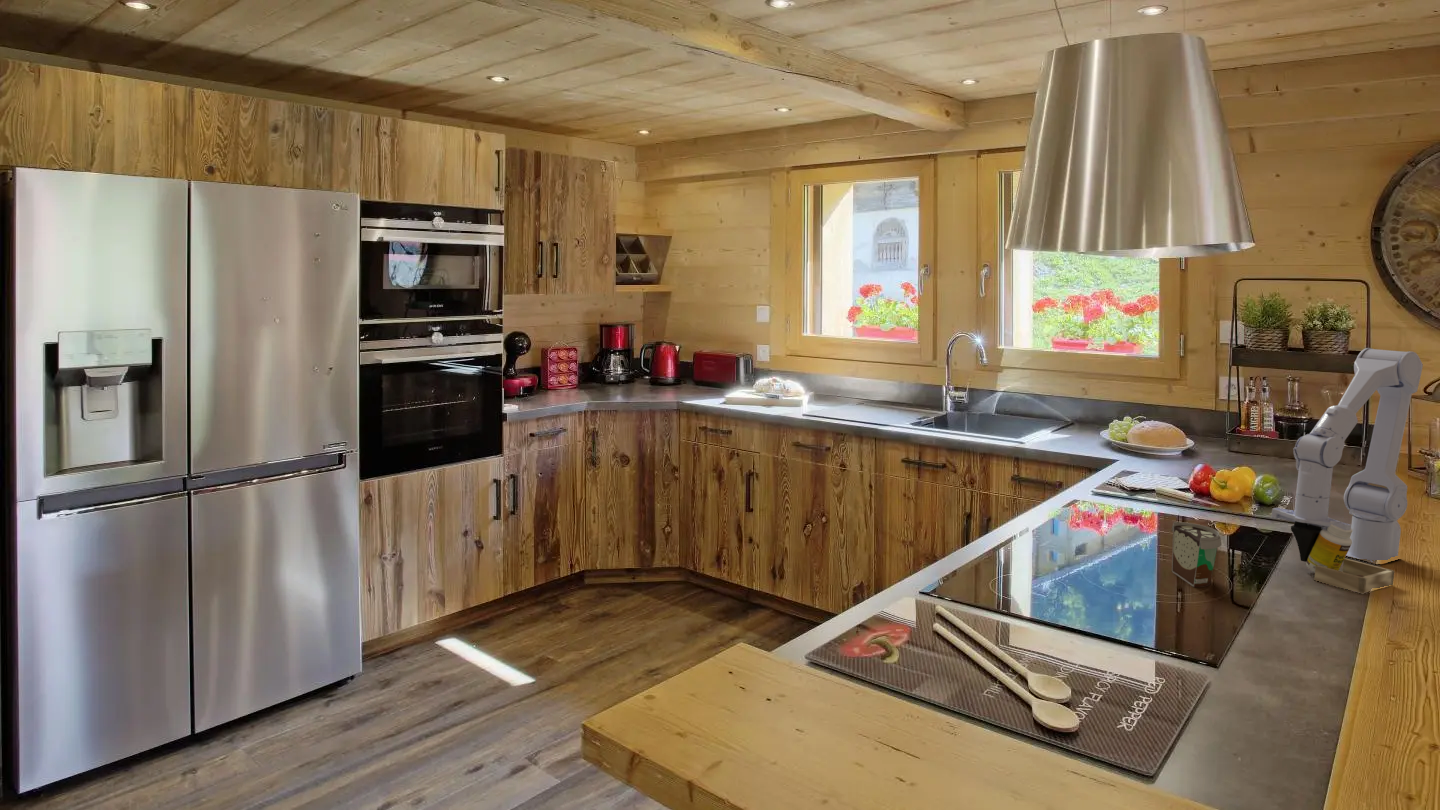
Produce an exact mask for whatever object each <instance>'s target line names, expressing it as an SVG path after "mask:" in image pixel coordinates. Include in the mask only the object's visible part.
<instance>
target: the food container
mask: <svg viewBox="0 0 1440 810" xmlns="http://www.w3.org/2000/svg"><path fill="white" fill-rule="evenodd" d="M1171 532H1172V551H1171V552H1172V554H1171V572H1172V573H1173V574H1174V575H1176V576H1177V577H1179V578H1180V579H1181V580H1183V581H1184V582H1186V583H1187V584H1188V585H1190V586H1191V587H1192V588H1204V587H1208V586H1210V585H1211V583H1212V578H1213V572H1214V567H1215V561H1216V555H1217V552H1218V551H1217V550H1218V548H1220V547H1221V546H1222V539H1221V535H1220V532H1219V531H1218V530H1216V529H1214V528H1213V527H1209V526H1204V525H1201V524H1196V523H1192V522H1190V523H1189V522H1185V521H1184V522H1182V521H1181V522H1180V521H1174V522H1172V527H1171Z"/></svg>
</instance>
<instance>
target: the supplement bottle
mask: <svg viewBox="0 0 1440 810" xmlns="http://www.w3.org/2000/svg"><path fill="white" fill-rule="evenodd" d="M1334 522H1335V521H1334ZM1330 523H1331V522H1330ZM1338 523H1339V522H1338ZM1351 533H1352V529H1350V530H1343V529H1341V528H1339V527H1337V526H1335V525H1332V524H1331V525H1330V527H1329V526H1328V527H1327V530H1326V529H1322V530H1321V531H1320V533H1319V535H1318V538H1317V540H1316V542H1315V544H1314V546H1313V548H1312V551H1311V553H1310V555H1309V557H1308V559H1307V561H1306V562H1305V565H1306V567H1307V568H1308V569H1310V571H1312V572H1313V573H1315V568H1316V566H1317V565H1319V566H1323V567H1326V568H1330V569H1334V570H1337V571H1340V569H1341V567H1342V566H1343V562H1344V559H1345V558H1347V557H1346V555H1347V553H1348V551H1349V548H1350V546H1351V544H1352V540H1351V538H1350V536H1351Z"/></svg>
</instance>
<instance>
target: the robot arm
mask: <svg viewBox="0 0 1440 810" xmlns="http://www.w3.org/2000/svg"><path fill="white" fill-rule="evenodd" d="M1423 364H1424V363H1423V362H1422V361H1421V358H1420V356H1419V354H1417V352H1415V351H1412V350H1411V351H1399V350H1388V349H1378V348H1377V349H1376V348H1375V349H1374V348H1372V347H1366V348H1364V349H1362V350H1361V351H1360V352H1359V353H1358V355H1357V357H1356V359H1355V361H1354V363H1353V371H1354V375H1353V378H1352V379H1351V381H1350V383H1349V384H1348V386H1347V389H1346V390H1345V392H1344V394H1343V395H1342V396H1341V399H1340V400H1339V402H1338V404H1337V405H1332V406H1329V407H1327V409H1326V410H1325V411H1324V413H1323V414H1322V415H1321V417H1320V419H1319V420H1318V421H1317V422H1316V424H1315V425H1314V427H1313V428H1312V430H1311V431H1310V432H1309V433H1307V434H1305V435H1302V436H1300V437H1299V438H1298V439H1297V440H1296V441H1295V445H1294V447H1293V448H1292V449H1293V457H1294V459H1295V468H1296V470H1297V472H1298V473H1297V481H1296V483H1297V484H1296V491H1295V492H1296V493H1295V503H1294V510H1292V509H1287V508H1281V507H1274V508H1272V509H1271V518H1272V519H1276V520H1277V519H1278V520H1279V519H1280V520H1284V521H1288V522H1292V523H1293V525H1291V526H1290V531H1291V532H1292V534H1293V536H1294V539H1295V541H1296V544H1297V548H1298V552H1299V558H1300V561H1302V562H1304V563H1306V561H1307V559H1308V557H1309V555H1310V553H1311V551H1312V548H1313V546H1314V544H1315V542H1316V540H1317V538H1318V535H1319V533H1320V531H1321V530H1322V529H1326V530H1327V527H1328V526H1329V527H1330V525H1331V524H1332V525H1335V526H1337V527H1339V528H1341V529H1343V530H1350V529H1352V533H1351V536H1350V538H1351V540H1352V544H1351V546H1350V548H1349V550H1348V553H1347V555H1346V556H1348V557H1353V558H1357V559H1367V560H1370V561H1371V562H1373V561H1372V560H1374V561H1375V560H1388V559H1390V558H1391V557H1395V556H1399V550H1400V549H1399V548H1400V542H1401V541H1400V539H1401V533H1402V532H1401V531H1402V529H1401V525H1400V523H1399V522H1398V521H1399V520H1400V519H1401V518H1402V517H1403V516H1404V514H1405V512H1406V510H1407V509H1408V497H1407V492H1408V485H1407V484H1406V483H1405V482H1404V481H1403V480H1402V479H1401V478H1400V477H1399V476H1398V475H1397V474H1396V471H1397V470H1396V469H1397V466H1398V462H1399V456H1400V451H1401V448H1402V447H1401V446H1402V442H1403V438H1404V433H1405V427H1406V423H1407V420H1408V419H1407V418H1408V414H1409V410H1410V404H1411V400H1412V396H1413V394H1415V393H1417V392H1418V390H1419V386H1420V381H1421V376H1422V371H1423V367H1424V366H1423ZM1376 391H1377V393H1378V394H1379V396H1380V397H1379V400H1378V401H1379V402H1378V407H1377V412H1376V417H1375V421H1374V425H1373V429H1372V435H1371V439H1370V443H1369V449H1368V454H1367V458H1366V463H1365V468H1364V469H1363V470H1361V471H1358V472H1357V473H1355V474H1353V475H1352V476H1351V477H1350V481H1349V483H1348V486H1347V487H1346V489H1345V491H1344V494H1343V502H1344V506H1345V508H1346V509H1347V510H1348V512H1349V513H1348V515H1352V516H1351V523H1347V522H1343V521H1340V520H1337V519H1334V518H1331V517H1329V507H1330V498H1331V490H1332V481H1333V470H1334V466H1337V464H1338V463H1339V462H1340V461H1341V459H1342V456H1343V450H1344V448H1345V446H1346V444H1345V441H1346V440H1347V438H1348V437H1349V436H1350V435H1351V432H1352V431H1353V429H1354V428H1355V427H1356V425H1357V424H1358V422H1359V420H1358V416H1357V413H1358V412H1359V411H1360V410H1361V409H1362V407H1363V406H1364V405H1365V404H1366V403H1367V402H1368V400H1369V399H1371V397H1372V396H1373V395H1374V393H1375V392H1376ZM1372 484H1373V485H1372ZM1376 485H1377V486H1376ZM1381 486H1383V487H1381ZM1334 521H1335V522H1334ZM1330 522H1331V523H1330ZM1338 522H1339V523H1338ZM1348 557H1347V558H1348Z"/></svg>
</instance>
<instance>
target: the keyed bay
mask: <svg viewBox="0 0 1440 810" xmlns="http://www.w3.org/2000/svg"><path fill="white" fill-rule="evenodd" d="M1394 578H1395V570H1393V569H1389V568H1384V567H1382V566H1379V565H1375V564H1371V563H1367V562H1363V561H1360V560H1356V559H1352V558H1348V557H1345V559H1344V561H1343V563H1342V571H1341V570H1339V571H1337V570H1334V569H1330V568H1326V567H1323V566H1319V565H1317V566H1316V568H1315V572H1314V578H1313V579H1314V580H1316V581H1315V582H1317V581H1319V582H1318V583H1320V582H1322V583H1321V584H1324V583H1326V584H1325V585H1327V584H1329V585H1328V586H1331V585H1333V586H1332V587H1334V586H1337V587H1336V588H1338V587H1341V588H1344V589H1343V590H1345V589H1348V590H1353V591H1357V592H1360V593H1364V592H1368V591H1370V590H1371V589H1372V588H1380V587H1384V586H1389V585H1393V586H1394ZM1314 580H1313V581H1314ZM1341 588H1340V589H1341ZM1348 590H1347V591H1348Z"/></svg>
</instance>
